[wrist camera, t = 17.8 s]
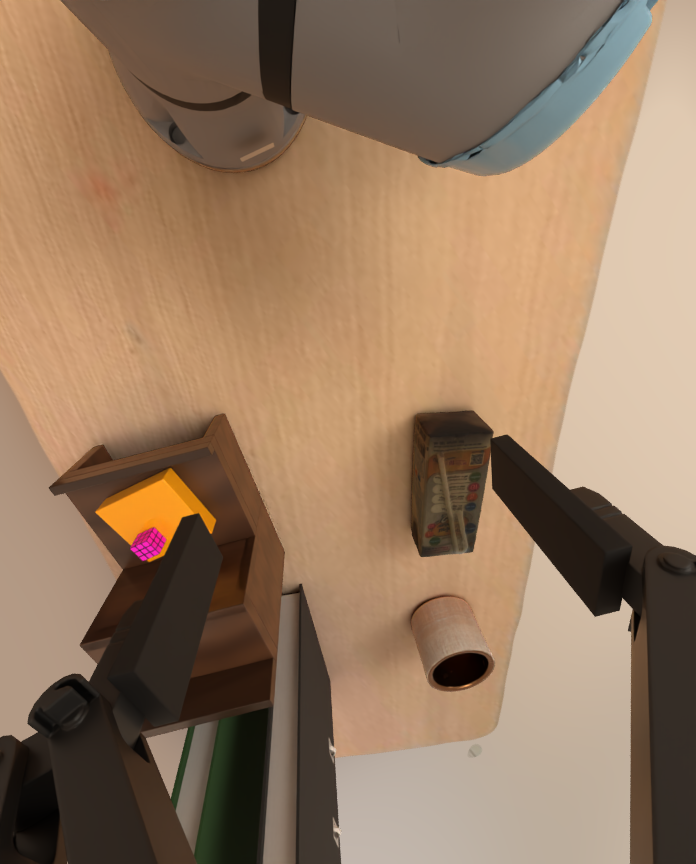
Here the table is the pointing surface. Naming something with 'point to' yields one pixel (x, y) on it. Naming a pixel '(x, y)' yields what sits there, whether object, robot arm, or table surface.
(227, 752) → the books
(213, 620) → the step shelf
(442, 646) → the planter
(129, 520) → the orange slab
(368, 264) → the table surface
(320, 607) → the table surface
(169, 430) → the table surface
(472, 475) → the beverage carton
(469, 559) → the table surface
